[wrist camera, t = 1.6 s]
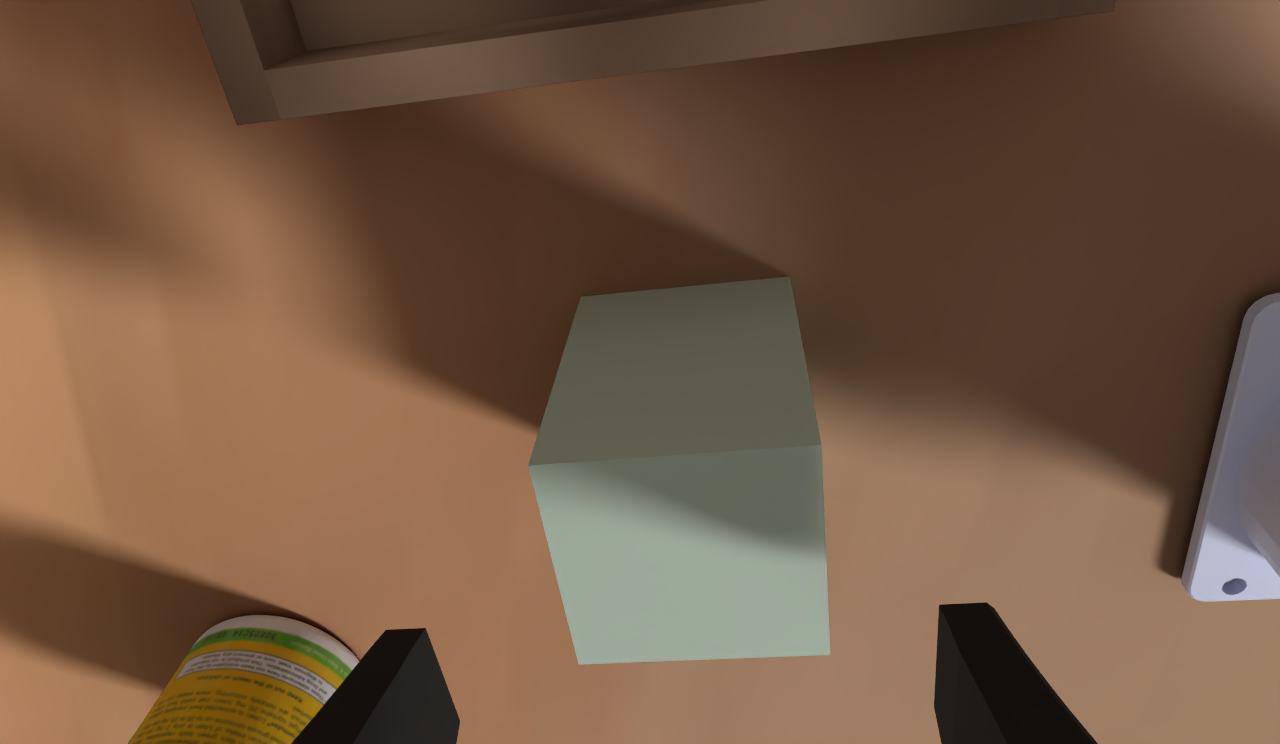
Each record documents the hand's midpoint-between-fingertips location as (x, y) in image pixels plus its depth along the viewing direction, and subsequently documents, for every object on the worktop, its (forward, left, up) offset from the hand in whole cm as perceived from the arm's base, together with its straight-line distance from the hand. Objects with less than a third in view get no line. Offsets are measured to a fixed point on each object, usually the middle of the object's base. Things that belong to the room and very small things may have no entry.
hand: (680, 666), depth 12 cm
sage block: (0, 0, -8) cm, 8 cm away
